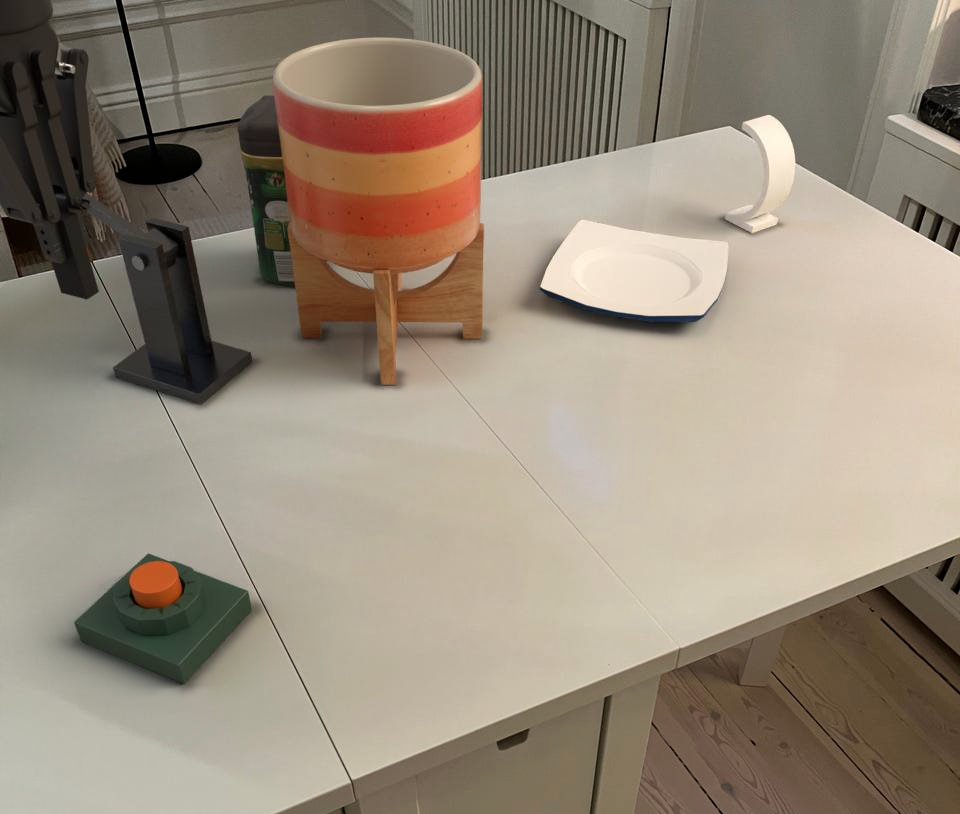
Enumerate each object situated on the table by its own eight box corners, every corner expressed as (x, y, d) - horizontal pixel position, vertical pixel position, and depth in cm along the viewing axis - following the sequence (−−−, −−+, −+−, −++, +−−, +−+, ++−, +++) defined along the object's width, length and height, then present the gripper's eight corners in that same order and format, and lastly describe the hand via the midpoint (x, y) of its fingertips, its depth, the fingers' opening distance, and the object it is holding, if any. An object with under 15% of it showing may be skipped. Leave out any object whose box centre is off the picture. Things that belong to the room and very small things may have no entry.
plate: (528, 312, 116) (529, 290, 114) (573, 235, 129) (575, 215, 127) (705, 343, 112) (710, 321, 110) (733, 261, 125) (738, 240, 123)
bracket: (115, 377, 106) (75, 239, 95) (169, 337, 111) (138, 202, 101) (201, 404, 103) (170, 264, 92) (253, 361, 108) (229, 225, 97)
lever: (34, 204, 97) (34, 182, 95) (77, 181, 100) (78, 159, 98) (148, 282, 97) (151, 261, 95) (187, 255, 100) (190, 235, 98)
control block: (80, 641, 80) (66, 605, 77) (154, 572, 86) (143, 536, 83) (184, 684, 77) (173, 649, 74) (252, 610, 83) (245, 573, 80)
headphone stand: (749, 210, 135) (769, 114, 126) (782, 227, 132) (805, 130, 123) (724, 218, 133) (742, 122, 125) (757, 236, 130) (778, 138, 121)
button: (124, 600, 78) (118, 583, 77) (154, 571, 80) (149, 555, 79) (162, 615, 77) (157, 598, 76) (191, 586, 79) (187, 569, 78)
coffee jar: (270, 249, 126) (246, 87, 112) (333, 251, 126) (317, 89, 112) (253, 287, 119) (226, 119, 106) (320, 290, 119) (302, 122, 105)
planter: (291, 385, 105) (253, 108, 86) (310, 290, 119) (281, 33, 99) (483, 385, 106) (488, 110, 86) (480, 291, 119) (484, 35, 100)
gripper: (-54, -14, 62) (61, 339, 79) (89, -61, 70) (166, 267, 87) (-144, -28, 64) (-13, 318, 81) (5, -72, 72) (96, 250, 89)
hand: (80, 292), depth 84 cm, fingers closed
